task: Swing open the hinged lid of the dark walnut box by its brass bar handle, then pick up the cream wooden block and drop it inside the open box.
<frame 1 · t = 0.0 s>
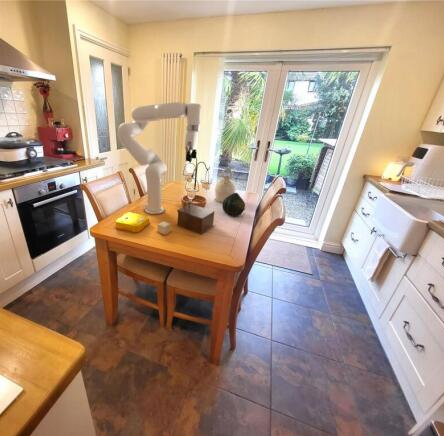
hand: (191, 159, 136), 37 cm above the table, tool pointing down, fingers open, 9 cm apart
chest: (195, 225, 141), on the table
lid: (196, 207, 136), point 11 cm above the table, hinge at 0.0°
cream vase: (223, 200, 182), on the table
element tile: (133, 225, 138), on the table
squash: (232, 213, 159), on the table
block: (164, 231, 132), on the table
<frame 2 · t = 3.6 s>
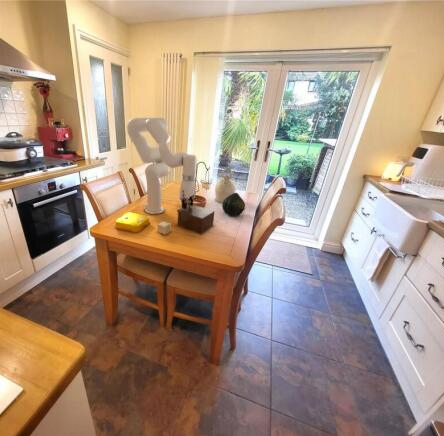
hand: (187, 206, 140), 11 cm above the table, tool pointing down, fingers closed on lid, 5 cm apart
lid: (196, 207, 136), point 11 cm above the table, hinge at 0.0°, touching gripper
everything else where it was.
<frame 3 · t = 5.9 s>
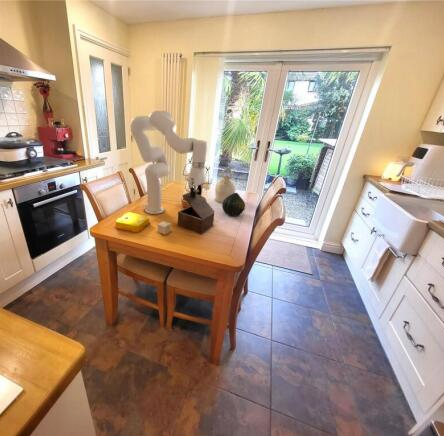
hand: (195, 195, 133), 19 cm above the table, tool pointing down, fingers closed on lid, 5 cm apart
lid: (200, 201, 133), point 16 cm above the table, hinge at 36.3°, touching gripper
everything else where it was.
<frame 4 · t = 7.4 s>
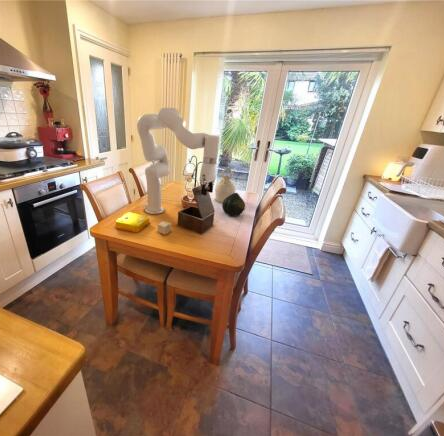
hand: (206, 193, 128), 22 cm above the table, tool pointing down, fingers closed on lid, 5 cm apart
lid: (207, 200, 130), point 18 cm above the table, hinge at 63.8°, touching gripper
everything else where it was.
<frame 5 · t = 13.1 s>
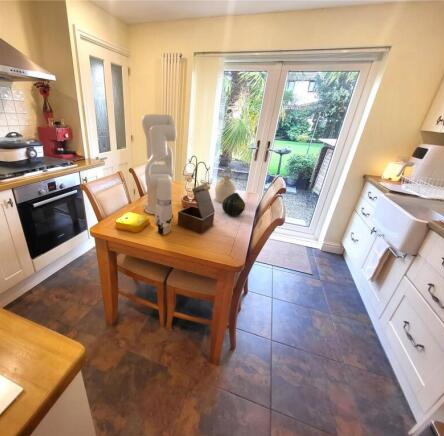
hand: (164, 231, 132), 0 cm above the table, tool pointing down, fingers closed on block, 5 cm apart
lid: (207, 200, 130), point 18 cm above the table, hinge at 64.4°
block: (164, 231, 132), on the table, touching gripper
everything else where it was.
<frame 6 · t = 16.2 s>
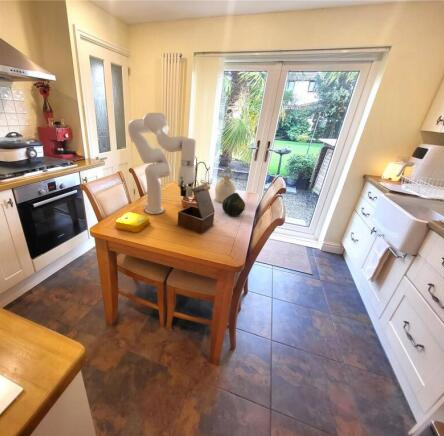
hand: (186, 194, 132), 19 cm above the table, tool pointing down, fingers closed on block, 5 cm apart
block: (186, 195, 132), point 19 cm above the table, touching gripper
everything else where it was.
when the fingers open (8 cm above the table, at t = 19.7 s): block drops 7 cm, resting on chest.
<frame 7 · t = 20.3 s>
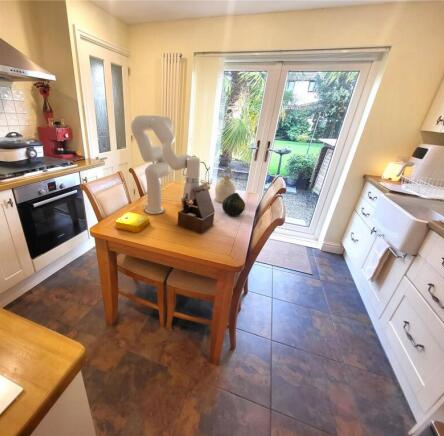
hand: (190, 207, 139), 10 cm above the table, tool pointing down, fingers open, 9 cm apart
block: (190, 222, 143), point 1 cm above the table, touching chest
everything else where it was.
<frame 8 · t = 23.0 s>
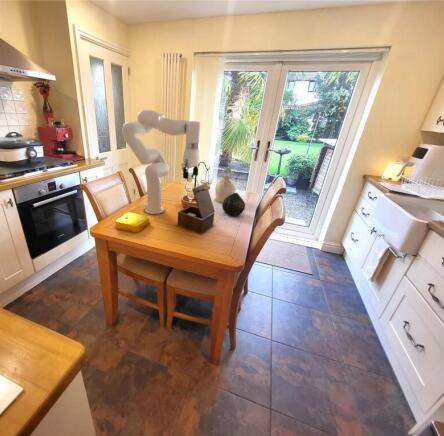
hand: (190, 176, 134), 28 cm above the table, tool pointing down, fingers open, 9 cm apart
nothing on the table moved.
at the end: lid at +64° (first picture: +0°); block inside the target area in the chest (4.0 cm from its centre), point 0.8 cm above the chest's base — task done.
